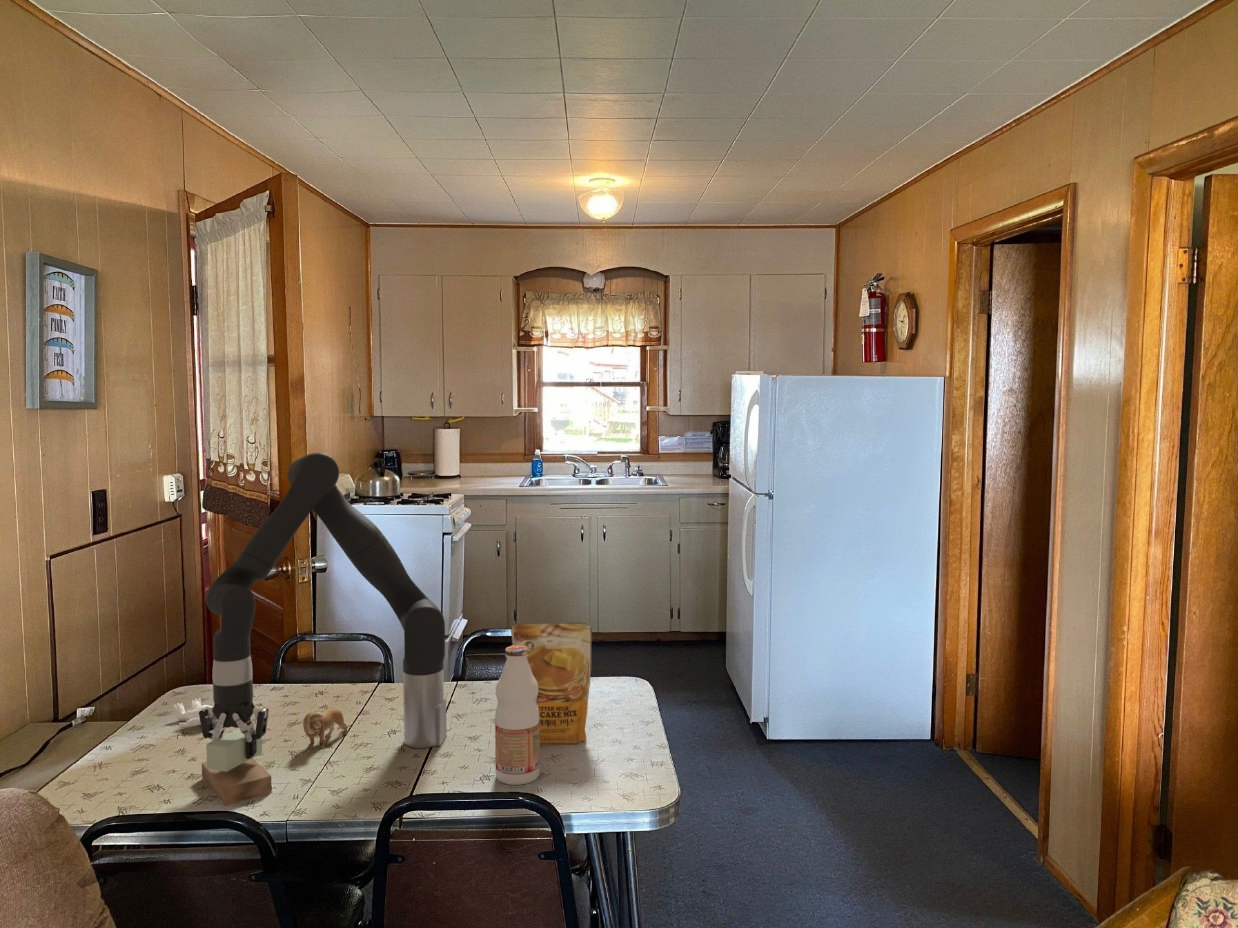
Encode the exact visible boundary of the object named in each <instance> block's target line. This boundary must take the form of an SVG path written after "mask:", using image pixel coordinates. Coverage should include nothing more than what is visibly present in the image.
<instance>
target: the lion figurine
mask: <svg viewBox="0 0 1238 928" xmlns="http://www.w3.org/2000/svg"><path fill="white" fill-rule="evenodd" d="M344 721H345V720H344V715H343V712H342V711H341V710H340V709H339V708H334V709H330V710H328V711H327V712H326V713H325V714H323V715H322V714H321V713H319V712H316V711H311V712H308V713H307V714H306V715H305V716H304V718H303V719H302V722H303V723H302V725H303V726H302V727H303V731H304V733H305V735H307V737H309V741H310V743H309V744H308V745H307V746H308V748H313V747H314V746H315V737H317V736H318V738H319V742H318V747H319V748H320V749H323V748H325V742H324V741H325V738H330V737H331V735H332V734H333V733H334V732H333V731H334V730H335V728H334V725H335V724H336V725H337V726H339V727H340V728H341V730H343V731H342V732H341V733H342V734H341V735H343V736H346V735H348V726H347V724H346V723H345V722H344ZM327 730H328V733H326V734H325V731H327Z"/></svg>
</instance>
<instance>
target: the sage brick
mask: <svg viewBox="0 0 1238 928" xmlns="http://www.w3.org/2000/svg"><path fill="white" fill-rule="evenodd" d="M255 730H256V728H255ZM246 742H247V740H246V738H245V736H244V734H243V733H241V731H240V729H239V728H236V730H235V729H234V730H232V731H231V732H229V733H227V734H224V735H223V736H222V737H220V738H218V739H216V740H214V741H212V740H211V741H210V742H208V743H206V761H207V768H209V769H214V770H220V771H225V772H227V771H229V770H231V769H233V768H235V767H236V766H238V765H240V764H242V763H244V762H246V761H247V760H249V759H247V758H246ZM262 753H263V736H262V737H261V738H260V739H257V752H256V754H255V755H254V756H253V757H252V758H253V759H254V758H255V757H257V756H260V755H261V754H262Z"/></svg>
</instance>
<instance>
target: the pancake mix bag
mask: <svg viewBox="0 0 1238 928" xmlns="http://www.w3.org/2000/svg"><path fill="white" fill-rule="evenodd" d="M510 634H511V646H514V645H521V646H526V647H528V652H529V653H528V656H527V660H528V663H529V666H530V668H531V671H532V674H533V676H534V677H535V679H536V681H537V683H538V689H539V691H538V696H537V700H536V702H537V705H538V708H539V741H540V745H541V746H551V745H552V746H553V745H554V746H556V745H558V746H559V745H561V746H562V745H565V746H569V745H578V744H579V743H581V742H587V741H588V740H587V734H586V725H587V716H588V708H589V707H588V705H589V695H590V685H591V673H592V658H593V657H592V650H593V649H592V647H593V646H592V645H593V643H592V642H593V630H592V626H591V625H589V626H588V625H587V622H581V621H579V622H577V621H576V622H526V623H525V622H524V623H523V622H522V623H516V624H514V625H513V626H511V627H510Z"/></svg>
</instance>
